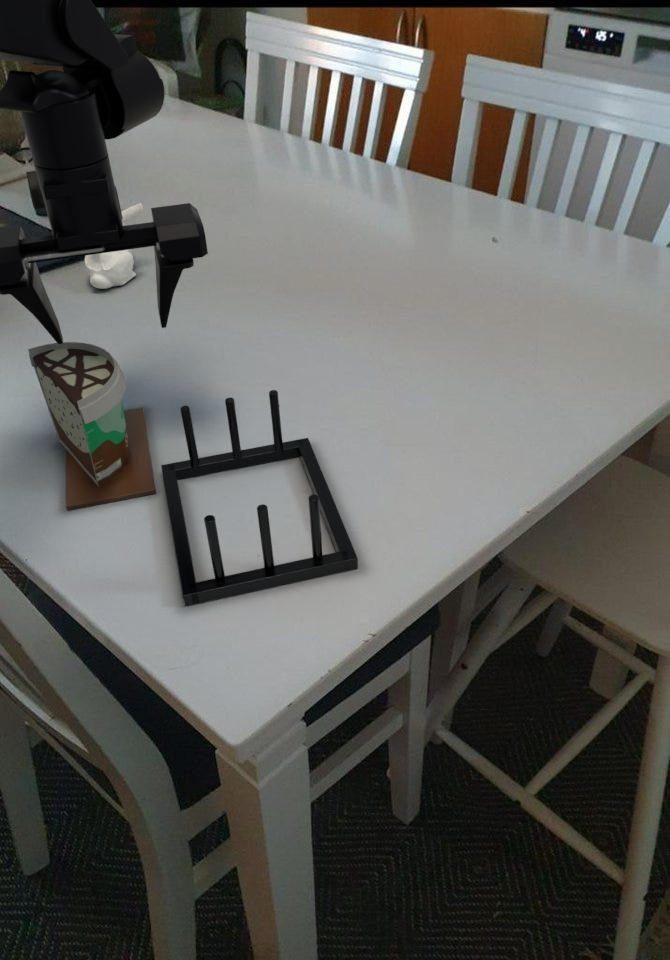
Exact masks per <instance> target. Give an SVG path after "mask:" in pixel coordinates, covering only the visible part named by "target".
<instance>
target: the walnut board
mask: <svg viewBox="0 0 670 960" xmlns="http://www.w3.org/2000/svg"><path fill="white" fill-rule="evenodd" d="M123 410H124V409H123ZM124 416H125V423H126V429H127V436H128V442H129V449H130V457H129V462H128V464H127V465H126V467H125V468H124V469H123V471H122V472H121V473H120V474H119V475H118V476H116V477H115V478H114V479H112V480H111V481H110V482H108V483H106V484H104V485H102V486H100V487H98V486H97V484H96V483H95V482H94V481H93V480H92V479H91V477H90V476H89V475H88V474H87V473H86V472H85V470H84V469H83V468H82V467H81V466H80V464H79V463H78V462H77V461H76V460H75V459H74V457H73V456H72V455H71V454H70V453H69V452H68V450H67V449H66V448H65V447H64V456H65V457H64V461H65V508H66V510H67V511H72V510H77V509H82V508H87V507H88V508H89V507H93V506H97V505H99V506H100V505H103V504H109V503H114V502H119V501H124V500H129V499H134V498H140V497H145V496H151V495H155V494H157V489H156V483H155V477H154V469H153V462H152V455H151V450H150V443H149V437H148V430H147V425H146V418H145V417H146V416H145V410H144V407H137V408H130V409H125V410H124Z"/></svg>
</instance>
